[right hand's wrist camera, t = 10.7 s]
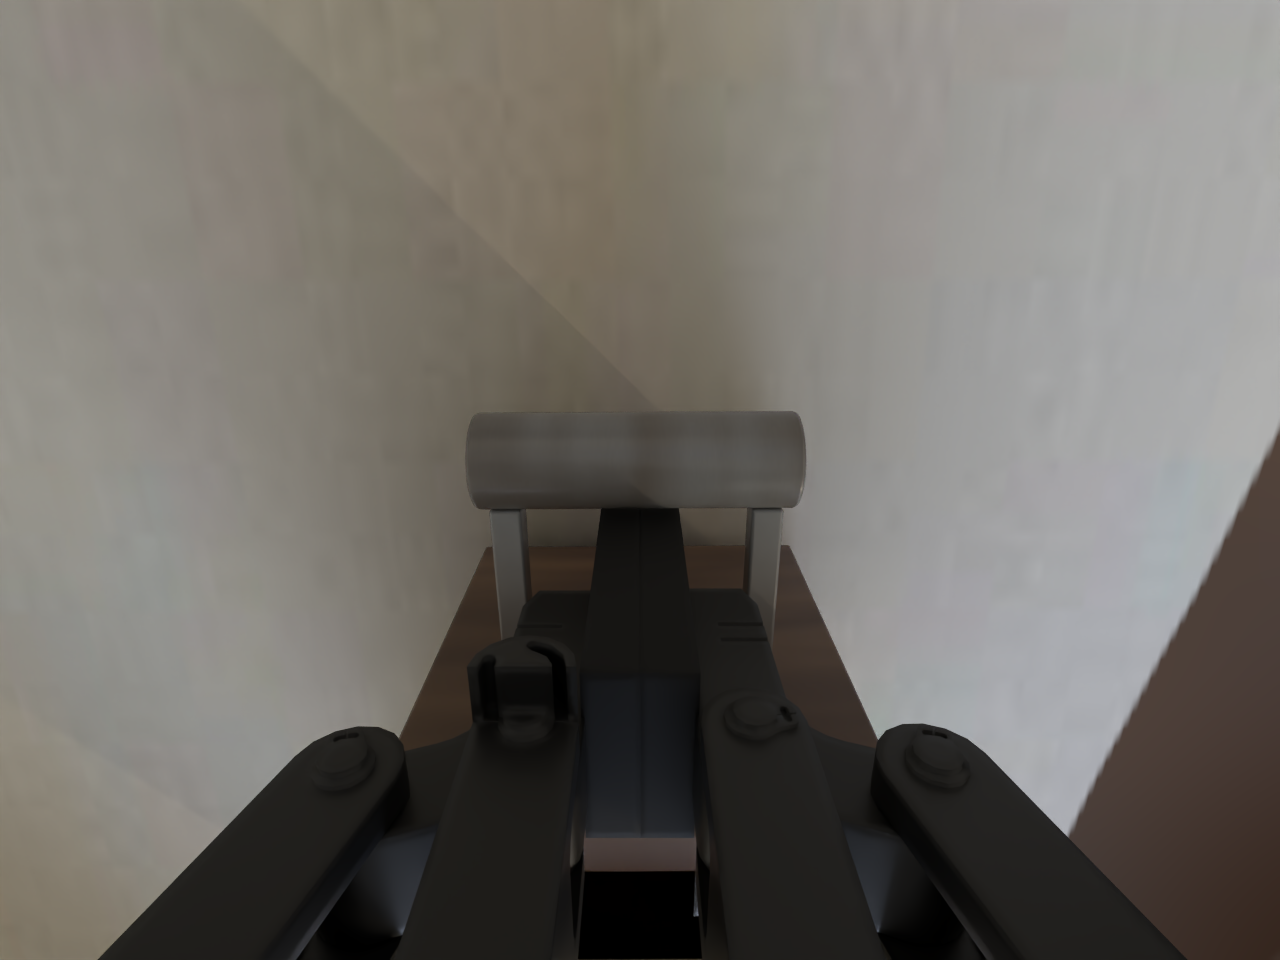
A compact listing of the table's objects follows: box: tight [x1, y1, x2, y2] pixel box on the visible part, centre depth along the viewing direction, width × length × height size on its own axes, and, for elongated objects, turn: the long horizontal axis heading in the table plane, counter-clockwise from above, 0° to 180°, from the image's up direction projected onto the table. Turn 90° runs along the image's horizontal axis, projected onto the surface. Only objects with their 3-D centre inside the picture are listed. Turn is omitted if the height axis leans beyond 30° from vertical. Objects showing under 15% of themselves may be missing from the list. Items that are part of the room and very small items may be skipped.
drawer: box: [399, 411, 878, 960], centre depth 17 cm, size 24×9×10 cm, turn 0°
